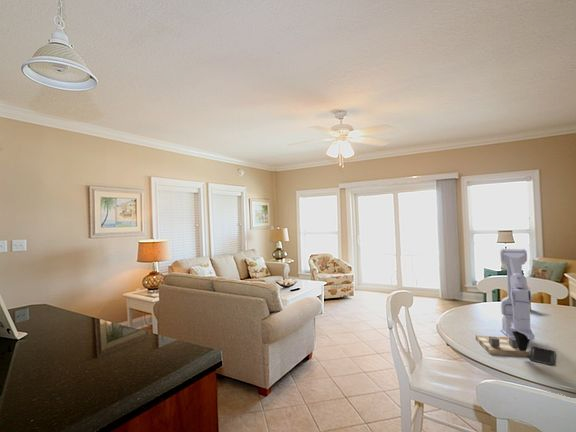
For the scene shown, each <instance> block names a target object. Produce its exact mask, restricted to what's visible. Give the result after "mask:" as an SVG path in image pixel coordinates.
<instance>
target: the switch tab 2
mask: <svg viewBox="0 0 576 432" xmlns="http://www.w3.org/2000/svg"><path fill="white" fill-rule="evenodd" d="M509 344H510V345H511V346H512V347H518V345H517V341H516V339H515V338H512V337H509Z"/></svg>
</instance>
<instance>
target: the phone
mask: <svg viewBox="0 0 576 432" xmlns="http://www.w3.org/2000/svg"><path fill="white" fill-rule="evenodd" d="M528 357H529V360H530V362H535V363H538V364H543V365H547V366H551V365H554V366H555V363H556V360H555V359H556V352H555V351H554V350H553V349H552V350H551V349H546V348H541V347H538V346H531V349H530V356H528Z"/></svg>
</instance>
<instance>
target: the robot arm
mask: <svg viewBox="0 0 576 432" xmlns="http://www.w3.org/2000/svg"><path fill="white" fill-rule="evenodd" d="M499 252H500V253H499V254H500V263H501V264H502V265H505V266H506V270H507V271H506V274H507V276H506V278H507V296H505V297H504V298H502V299H501V303H500V308H501V309H500V311H501V315H502V318H501V319H502V320H501V321H502V322H501V323H502V329H500V332H502V333H503V334H504V335H506V337H512V338H515V339H516V341H517V345H518V348H519V350H520V351H526V350H528V347H529V344H530V341H531V340H532V341H534V340H535V334H534V333H533V331H532V329H531V311H530V304H529V303H531V304H532V294H531V293H532V292H531V288H530V289H529V287H528V282H527V278H526V277H527V276H525V275H524V274H523V268H522V267H523V266H522V265H525V264H526V262H527V261H528V253H527V250H526V249H525V248H523V249H521V248H520V249H518V248H501V249H500V250H499Z"/></svg>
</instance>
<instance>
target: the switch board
mask: <svg viewBox="0 0 576 432" xmlns="http://www.w3.org/2000/svg"><path fill="white" fill-rule="evenodd" d="M489 336H491V337H497V338H498V339H499V343H500V346H492V345H491V344H489ZM475 341H477V342H478V344H480V346H481V347H483V348H484V350H486V351H487V353H488V354H490V355H499V356H516V357H517V356H519V357H530V353H531V351H529V350H528V349H527V350H526V351H520V350H519V348H518V347H512V346H511V345H510V344H509V337H508V336H503V335H502V336H501V335H498V336H497V335H481V334H480V335H479V334H476V335H475Z"/></svg>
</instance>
